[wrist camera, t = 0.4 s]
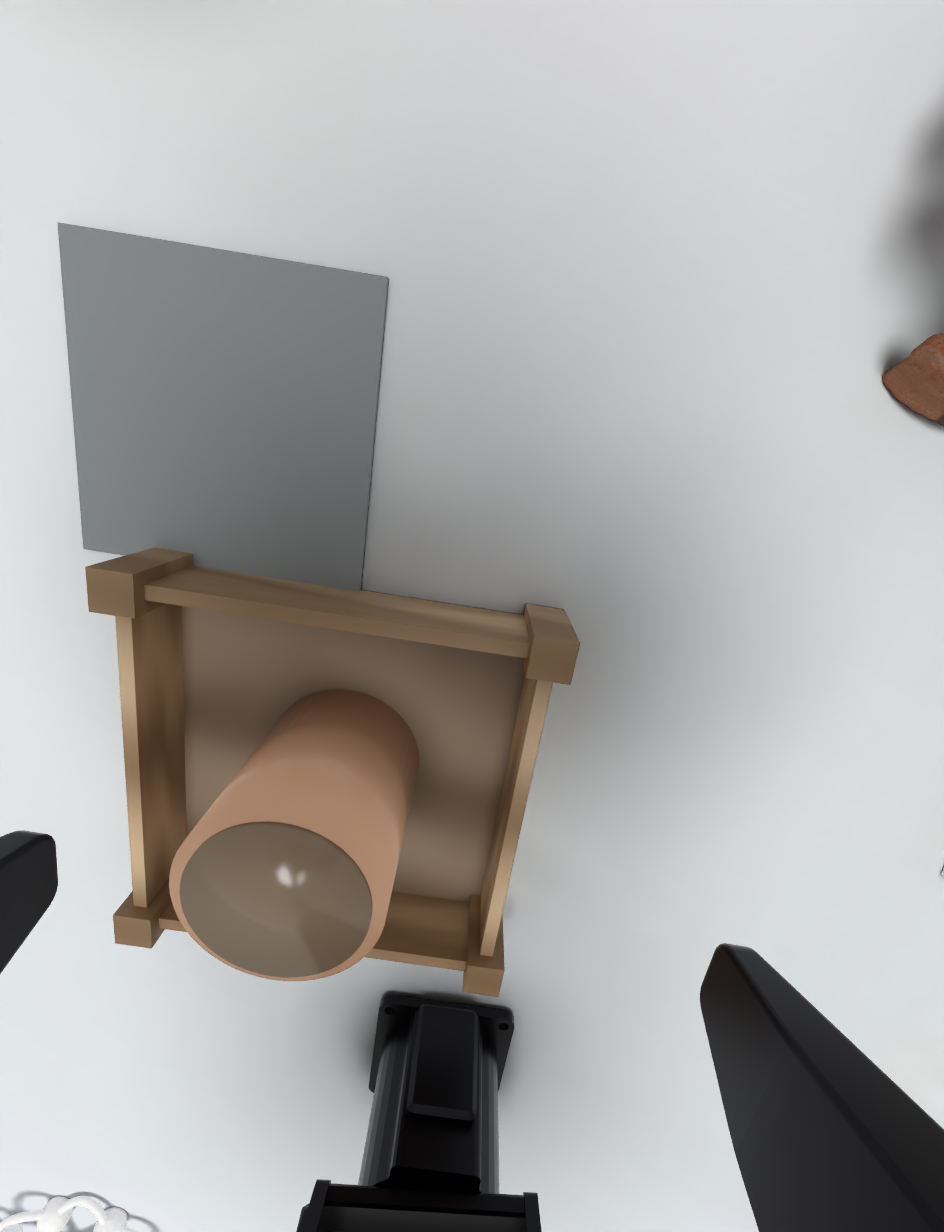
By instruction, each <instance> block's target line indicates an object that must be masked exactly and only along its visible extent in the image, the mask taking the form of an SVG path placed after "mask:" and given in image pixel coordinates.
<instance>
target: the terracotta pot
mask: <svg viewBox="0 0 944 1232" xmlns="http://www.w3.org/2000/svg"><path fill="white" fill-rule="evenodd" d="M418 769H419V752H418V747H417V743H416V740H415V738H414V735H413V733H412V731H411V729H410V728H409V726H408V725H407V723H406V722H405V721H404V719H403V718H402V717H401V716H400V715H399V714H398V713H397V712H396V711H395V710H394V709H392V708H391V707H390V706H389V705H387V704H385V703H384V702H382V701H381V700H379V699H377V698H375V697H372V696H370V695H367V694H364V693H361V692H357V691H352V690H342V689H338V690H326V691H320V692H317V693H313V694H310V695H308V696H306V697H303V698H302V699H300V700H298V701H297V702H295V703H294V704H293V705H292V706H290V707H289V708H288V709H287V710H286V711H285V713H284V714H283V715H282V716H281V717H280V719H279V720H278V721H277V722H276V724H275V725H274V726H273V728H272V729H271V730H270V731H269V733H268V734H267V735H266V737H265V738H264V739H263V740H262V742H261V743H260V744H259V745H258V747H257V748H256V749H255V751H254V752H253V753H252V754H251V756H250V757H249V758H248V760H247V761H246V762H245V763H244V765H243V766H242V767H241V769H240V770H239V771H238V772H237V774H236V775H235V776H234V777H233V779H232V780H231V781H230V783H229V784H228V785H227V786H226V788H225V789H224V790H223V792H222V793H221V794H220V795H219V797H218V798H217V799H216V801H215V802H214V803H213V804H212V806H211V807H210V808H209V809H208V811H207V812H206V813H205V815H204V816H203V817H202V818H201V820H200V821H199V822H198V824H197V825H196V826H195V827H194V829H193V830H192V831H191V833H190V834H189V835H188V836H187V838H186V839H185V840H184V841H183V843H182V844H181V846H180V847H179V849H178V851H177V852H176V854H175V857H174V859H173V862H172V865H171V869H170V875H169V889H170V897H171V900H172V904H173V907H174V910H175V912H176V914H177V916H178V918H179V920H180V922H181V923H182V925H183V927H184V928H185V929H186V931H187V932H188V933H189V934H190V936H191V937H192V938H193V939H194V940H195V941H196V942H197V943H198V944H199V945H200V946H201V947H202V948H203V949H205V950H206V951H207V952H208V953H210V954H211V955H212V956H214V957H215V958H217V959H218V960H220V961H222V962H223V963H225V964H227V965H229V966H231V967H233V968H235V969H238V970H240V971H243V972H245V973H248V974H251V975H255V976H258V977H262V978H267V979H273V980H282V981H306V980H314V979H319V978H324V977H328V976H331V975H334V974H337V973H339V972H341V971H343V970H345V969H347V968H349V967H351V966H352V965H354V964H356V963H357V962H359V961H360V960H361V959H362V958H363V957H364V956H366V955H367V954H368V953H369V951H370V950H371V949H372V948H373V947H374V946H375V944H376V942H377V941H378V939H379V937H380V936H381V933H382V931H383V928H384V925H385V921H386V916H387V911H388V907H389V902H390V898H391V893H392V888H393V884H394V879H395V875H396V870H397V865H398V861H399V856H400V852H401V847H402V842H403V838H404V833H405V829H406V824H407V819H408V815H409V810H410V805H411V801H412V796H413V792H414V787H415V782H416V778H417V773H418Z"/></svg>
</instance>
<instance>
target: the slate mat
mask: <svg viewBox="0 0 944 1232" xmlns="http://www.w3.org/2000/svg"><path fill="white" fill-rule="evenodd" d="M58 234H59V246H60V259H61V272H62V284H63V297H64V309H65V322H66V334H67V347H68V360H69V372H70V385H71V397H72V410H73V422H74V435H75V448H76V460H77V473H78V485H79V498H80V510H81V523H82V536H83V548H84V549H88V550H94V551H101V552H107V553H114V554H120V555H130V554H133V553H137V552H140V551H144V550H147V549H151V548H160V549H167V550H173V551H180V552H186V553H193V566H198V567H205V568H211V569H218V570H224V571H231V572H237V573H244V574H250V575H257V576H263V577H270V578H276V579H283V580H289V581H296V582H302V583H308V584H315V585H321V586H328V587H334V588H341V589H347V590H354V591H361V585H362V574H363V563H364V551H365V540H366V529H367V518H368V506H369V495H370V484H371V473H372V462H373V450H374V439H375V428H376V417H377V405H378V394H379V383H380V372H381V361H382V349H383V338H384V327H385V316H386V304H387V293H388V282H389V279H388V277H384V276H378V275H372V274H366V273H360V272H354V271H348V270H342V269H336V268H330V267H324V266H318V265H312V264H305V263H299V262H293V261H287V260H281V259H275V258H269V257H263V256H257V255H251V254H245V253H239V252H233V251H227V250H221V249H215V248H209V247H203V246H197V245H191V244H185V243H179V242H173V241H167V240H161V239H155V238H148V237H142V236H136V235H130V234H124V233H118V232H112V231H106V230H100V229H94V228H88V227H82V226H76V225H70V224H64V223H58Z"/></svg>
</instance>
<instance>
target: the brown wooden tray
mask: <svg viewBox="0 0 944 1232" xmlns="http://www.w3.org/2000/svg"><path fill="white" fill-rule="evenodd" d="M85 568H86V580H87V593H88V606H89V612H95V613H101V614H108V615H115V616H116V632H117V648H118V664H119V680H120V696H121V712H122V727H123V743H124V759H125V775H126V791H127V807H128V823H129V839H130V855H131V870H132V886H133V891H132V893H131V894H130V895H129V896H128V898H127V899H126V900H125V901H124V902H123V904H122V905H121V906H120V907H119V909H118V910H117V911H116V912H115V914H114V915H113V921H114V934H115V943H117V944H124V945H131V946H138V947H145V948H152V947H153V946H154V944H155V943H156V941H157V940H158V938H159V937H160V935H161V934H162V932H163V931H164V929H169V930H176V931H183V932H187V931H186V929H185V928H184V927H183V925H182V923H181V922H180V920H179V918H178V916H177V914H176V912H175V910H174V907H173V904H172V900H171V897H170V889H169V875H170V869H171V865H172V862H173V859H174V857H175V854H176V852H177V851H178V849H179V847H180V846H181V844H182V843H183V841H184V840H185V839H186V838H187V836H188V835H189V834H190V833H191V831H192V830H193V829H194V827H195V826H196V825H197V824H198V822H199V821H200V820H201V818H202V817H203V816H204V815H205V813H206V812H207V811H208V809H209V808H210V807H211V806H212V804H213V803H214V802H215V801H216V799H217V798H218V797H219V795H220V794H221V793H222V792H223V790H224V789H225V788H226V786H227V785H228V784H229V783H230V781H231V780H232V779H233V777H234V776H235V775H236V774H237V772H238V771H239V770H240V769H241V767H242V766H243V765H244V763H245V762H246V761H247V760H248V758H249V757H250V756H251V754H252V753H253V752H254V751H255V749H256V748H257V747H258V745H259V744H260V743H261V742H262V740H263V739H264V738H265V737H266V735H267V734H268V733H269V731H270V730H271V729H272V728H273V726H274V725H275V724H276V722H277V721H278V720H279V719H280V717H281V716H282V715H283V714H284V713H285V711H286V710H287V709H288V708H289V707H290V706H292V705H293V704H294V703H295V702H297V701H298V700H300V699H302V698H303V697H306V696H308V695H310V694H313V693H317V692H320V691H326V690H338V689H342V690H352V691H357V692H361V693H364V694H367V695H370V696H372V697H375V698H377V699H379V700H381V701H382V702H384V703H385V704H387V705H389V706H390V707H391V708H392V709H394V710H395V711H396V712H397V713H398V714H399V715H400V716H401V717H402V718H403V719H404V721H405V722H406V723H407V725H408V726H409V728H410V729H411V731H412V733H413V735H414V738H415V740H416V743H417V747H418V752H419V769H418V773H417V778H416V782H415V787H414V792H413V796H412V801H411V805H410V810H409V815H408V819H407V824H406V829H405V833H404V838H403V842H402V847H401V852H400V856H399V861H398V865H397V870H396V875H395V879H394V884H393V888H392V893H391V898H390V902H389V907H388V911H387V916H386V921H385V925H384V928H383V931H382V933H381V936H380V937H379V939H378V941H377V942H376V944H375V946H374V947H373V948H372V949H371V950H370V951H369V953H368V954H367V955H366V956H364V957H368V958H375V959H382V960H389V961H396V962H403V963H411V964H418V965H425V966H432V967H439V968H446V969H453V970H460V971H464V975H463V992H466V993H474V994H481V995H488V996H495V997H498V996H499V992H500V987H501V983H502V979H503V974H504V945H503V914H502V911H503V907H504V902H505V898H506V893H507V889H508V884H509V880H510V875H511V870H512V866H513V861H514V857H515V852H516V848H517V843H518V839H519V834H520V829H521V825H522V820H523V816H524V811H525V807H526V802H527V797H528V793H529V788H530V784H531V779H532V775H533V770H534V766H535V761H536V756H537V752H538V747H539V743H540V738H541V734H542V729H543V725H544V720H545V715H546V711H547V706H548V702H549V697H550V693H551V688H552V684H553V682H556V683H562V684H569V685H571V680H572V676H573V672H574V667H575V663H576V659H577V654H578V650H579V646H580V642H579V640H578V638H577V636H576V633H575V631H574V629H573V627H572V625H571V623H570V621H569V619H568V617H567V615H566V613H565V611H564V609H558V608H552V607H545V606H539V605H532V604H526V607H525V612H524V615H520V614H513V613H507V612H500V611H494V610H488V609H481V608H475V607H468V606H462V605H455V604H449V603H442V602H436V601H429V600H423V599H416V598H410V597H403V596H397V595H390V594H384V593H377V592H371V591H364V590H361V591H354V590H347V589H341V588H334V587H328V586H321V585H315V584H308V583H302V582H296V581H289V580H283V579H276V578H270V577H263V576H257V575H250V574H244V573H237V572H231V571H224V570H218V569H211V568H205V567H198V566H193V553H186V552H180V551H173V550H167V549H160V548H151V549H147V550H144V551H140V552H137V553H133V554H130V555H126V556H122V557H119V558H115V559H112V560H108V561H105V562H101V563H98V564H94V565H91V566H87V567H85Z"/></svg>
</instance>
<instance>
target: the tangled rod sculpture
mask: <svg viewBox="0 0 944 1232" xmlns="http://www.w3.org/2000/svg"><path fill="white" fill-rule="evenodd" d="M74 1206H83V1207H86V1208H87V1209H88V1210H90V1211H91V1212H92V1213H93V1214H94V1215H95V1216H96V1217H97V1219H98V1221H97V1223H96V1225H95V1227H94V1231H93V1232H136V1231H135V1230H134V1229H132V1228H130V1227H127V1226H126V1224H127V1213H126V1212H125V1211H124V1210H123V1209H121V1208H118V1207H111V1208H108V1209H107V1210H106V1211H104V1209H103V1208H102V1206H101V1204H100V1203H99V1202H97V1201H96V1200H94V1199H92V1198H90V1197H89V1196H76V1197H74V1198H72V1199H68V1198H66V1197H63V1196H56V1197H54V1198H52V1199H51V1200H50V1201H48V1203H47V1204H46V1205H45V1207H44V1208H43V1209H42V1210H34V1211H26V1212H20V1213H18V1214H15V1215H12V1216H9V1217H6V1218H5V1219H3V1220H2V1221H1V1222H0V1232H23V1228H22V1226H21V1225H20V1224H19V1223H22V1222H28V1221H37V1220H38V1222H37V1230H38V1232H62V1229H63V1228H64V1227H65V1226H66V1224H67V1223H68V1221H69V1219H70V1217H71V1215H72V1211H73V1208H74Z"/></svg>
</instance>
